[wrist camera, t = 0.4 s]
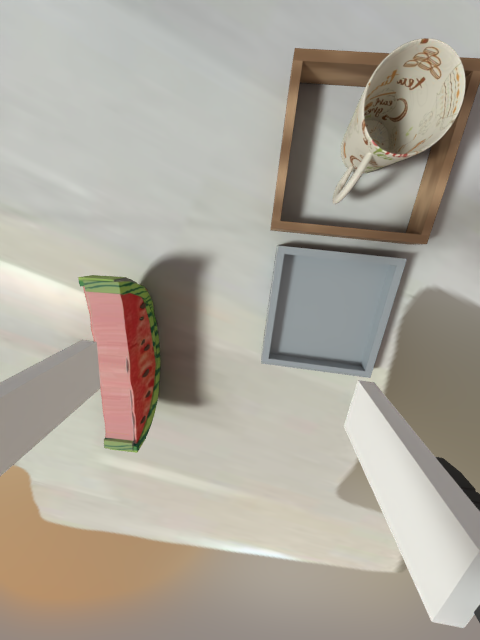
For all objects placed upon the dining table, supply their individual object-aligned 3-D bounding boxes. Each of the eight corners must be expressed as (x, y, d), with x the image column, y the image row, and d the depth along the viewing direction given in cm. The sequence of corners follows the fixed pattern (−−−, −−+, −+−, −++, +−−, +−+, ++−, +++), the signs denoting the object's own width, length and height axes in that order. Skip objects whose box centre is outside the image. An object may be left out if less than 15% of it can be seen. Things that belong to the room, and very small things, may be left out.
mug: (414, 128, 29) (489, 70, 19) (352, 226, 33) (389, 217, 23) (357, 92, 28) (405, 15, 19) (300, 196, 32) (317, 174, 23)
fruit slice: (165, 410, 45) (139, 453, 36) (134, 406, 45) (100, 448, 36) (157, 271, 37) (121, 280, 28) (120, 269, 38) (71, 277, 28)
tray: (277, 245, 34) (278, 245, 32) (396, 258, 33) (406, 259, 31) (261, 356, 40) (261, 363, 37) (363, 369, 39) (370, 377, 36)
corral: (291, 71, 28) (294, 48, 25) (459, 82, 27) (487, 58, 24) (270, 230, 34) (271, 228, 30) (410, 244, 33) (426, 244, 29)
